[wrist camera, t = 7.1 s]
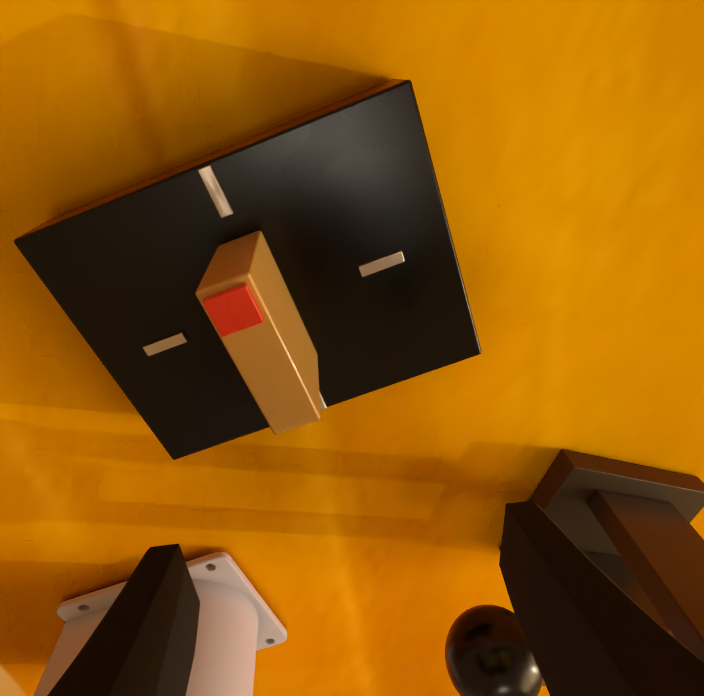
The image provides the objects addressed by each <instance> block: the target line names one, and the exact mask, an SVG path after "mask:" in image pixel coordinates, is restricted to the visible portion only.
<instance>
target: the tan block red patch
mask: <svg viewBox="0 0 704 696" xmlns="http://www.w3.org/2000/svg"><path fill="white" fill-rule="evenodd" d="M196 296H197V298H198V300H199V301H200V303H201V305H202V307H203V308H204V310H205V312H206V314H207V315H208V317H209V319H210V321H211V323H212V324H213V326H214V328H215V330H216V331H217V333H218V335H219V337H220V339H221V340H222V342H223V344H224V346H225V347H226V349H227V351H228V353H229V355H230V356H231V358H232V360H233V362H234V363H235V365H236V367H237V369H238V371H239V372H240V374H241V376H242V378H243V379H244V381H245V383H246V385H247V386H248V388H249V390H250V392H251V394H252V395H253V397H254V399H255V401H256V402H257V404H258V406H259V408H260V410H261V411H262V413H263V415H264V417H265V418H266V420H267V422H268V424H269V426H270V427H271V429H272V431H273V433H274V434H279V433H282V432H285V431H288V430H291V429H294V428H297V427H300V426H303V425H306V424H309V423H312V422H315V421H318V420H319V419H320V397H319V376H318V356H317V352H316V350H315V348H314V346H313V344H312V341H311V339H310V337H309V335H308V333H307V330H306V328H305V326H304V324H303V322H302V319H301V317H300V315H299V313H298V311H297V308H296V306H295V304H294V302H293V300H292V298H291V295H290V293H289V291H288V289H287V287H286V284H285V282H284V280H283V278H282V276H281V273H280V271H279V269H278V267H277V265H276V262H275V260H274V258H273V256H272V254H271V251H270V249H269V247H268V245H267V243H266V240H265V238H264V236H263V234H262V232H261V231H256V232H253V233H251V234H248V235H246V236H243V237H240V238H238V239H235V240H233V241H230V242H227V243H225V244H222V245H219V246H218V248H217V250H216V252H215V254H214V256H213V258H212V260H211V262H210V264H209V266H208V268H207V270H206V272H205V274H204V276H203V278H202V280H201V282H200V284H199V286H198V288H197V290H196Z"/></svg>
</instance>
